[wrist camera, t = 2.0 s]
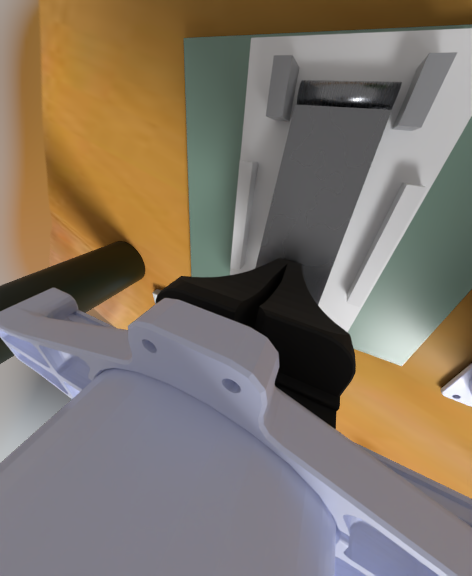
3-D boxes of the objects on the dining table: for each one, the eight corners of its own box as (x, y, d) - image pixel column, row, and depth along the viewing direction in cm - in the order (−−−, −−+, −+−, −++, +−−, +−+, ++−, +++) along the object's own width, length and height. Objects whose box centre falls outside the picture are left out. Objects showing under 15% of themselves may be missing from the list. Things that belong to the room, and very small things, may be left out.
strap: (303, 87, 10) (302, 75, 9) (397, 90, 9) (405, 76, 8) (235, 359, 16) (231, 366, 15) (287, 382, 15) (285, 391, 14)
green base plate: (686, 26, 8) (1092, -128, 4) (399, 357, 19) (414, 415, 15) (192, 44, 14) (125, -3, 10) (196, 285, 26) (166, 311, 21)
